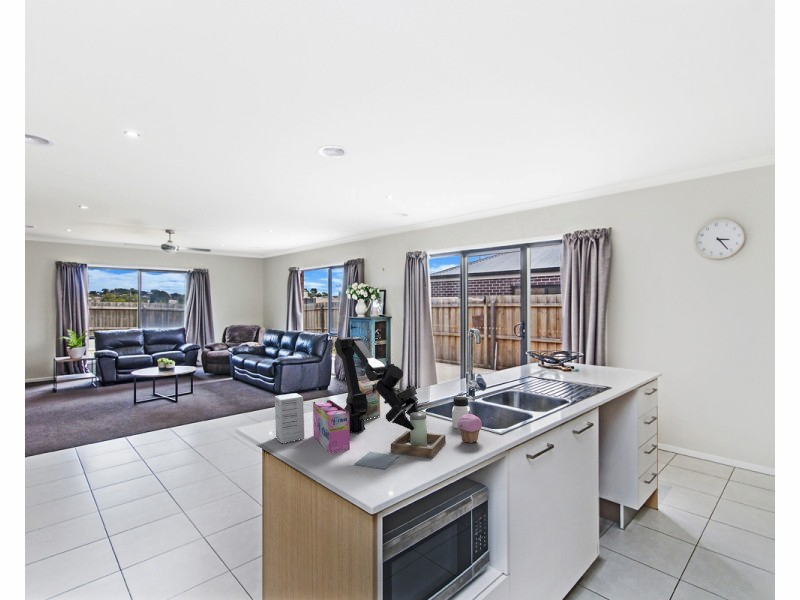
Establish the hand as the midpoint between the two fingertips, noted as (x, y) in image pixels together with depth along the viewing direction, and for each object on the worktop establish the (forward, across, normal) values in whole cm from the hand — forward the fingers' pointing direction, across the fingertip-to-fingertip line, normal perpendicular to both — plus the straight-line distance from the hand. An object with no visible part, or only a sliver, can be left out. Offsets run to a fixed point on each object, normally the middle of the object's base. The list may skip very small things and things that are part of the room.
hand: (418, 425), depth 144 cm
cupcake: (+17, +12, -6) cm, 22 cm away
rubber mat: (-1, -16, +12) cm, 20 cm away
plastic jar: (+6, 0, +6) cm, 8 cm away
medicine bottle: (+11, +30, 0) cm, 32 cm away
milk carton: (-21, +29, +32) cm, 48 cm away
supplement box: (-31, -7, +42) cm, 53 cm away
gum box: (-18, -5, +30) cm, 35 cm away
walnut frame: (+6, 0, +6) cm, 8 cm away
